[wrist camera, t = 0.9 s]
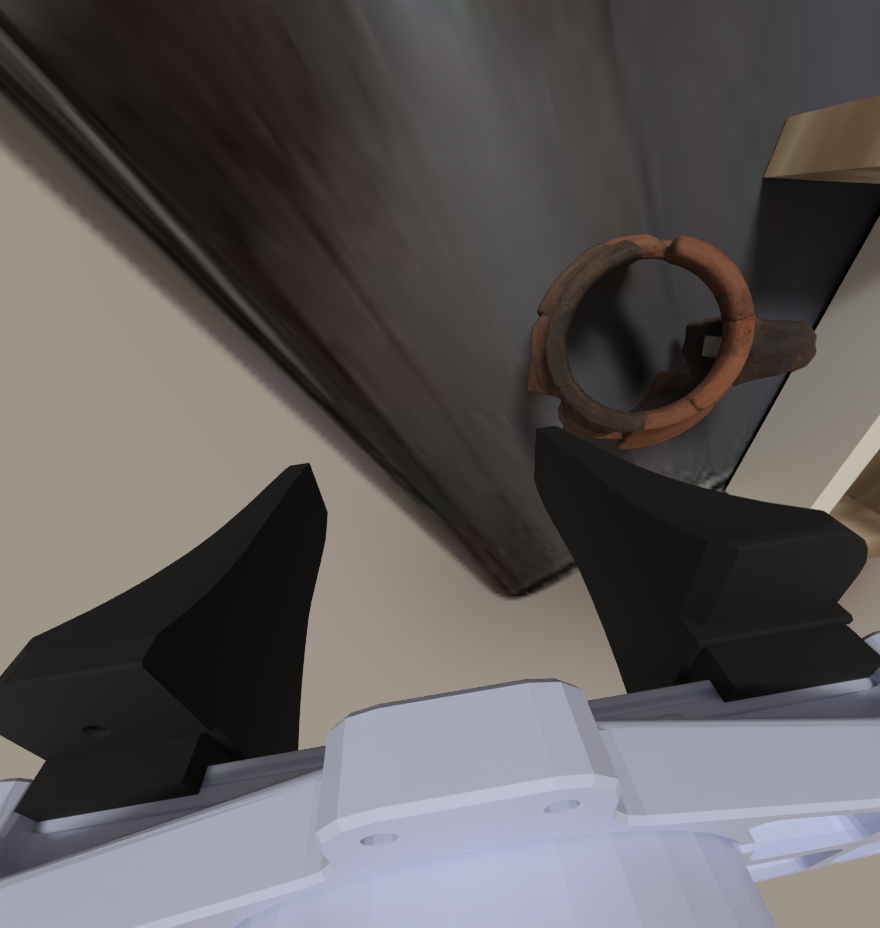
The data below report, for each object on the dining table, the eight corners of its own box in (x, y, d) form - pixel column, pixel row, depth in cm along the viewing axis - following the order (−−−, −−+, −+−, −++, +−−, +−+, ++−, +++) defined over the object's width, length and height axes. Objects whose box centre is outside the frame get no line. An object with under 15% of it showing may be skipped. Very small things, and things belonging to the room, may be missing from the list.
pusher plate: (919, 196, 18) (1081, 190, 13) (744, 490, 27) (807, 539, 23) (891, 194, 17) (1047, 188, 13) (725, 491, 27) (785, 541, 23)
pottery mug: (530, 448, 24) (539, 472, 16) (513, 291, 22) (512, 229, 14) (750, 422, 21) (894, 435, 13) (744, 244, 20) (900, 137, 12)
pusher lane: (1124, 142, 18) (1352, 119, 13) (836, 507, 30) (909, 555, 25) (787, 117, 16) (930, 82, 12) (626, 517, 28) (668, 571, 24)
